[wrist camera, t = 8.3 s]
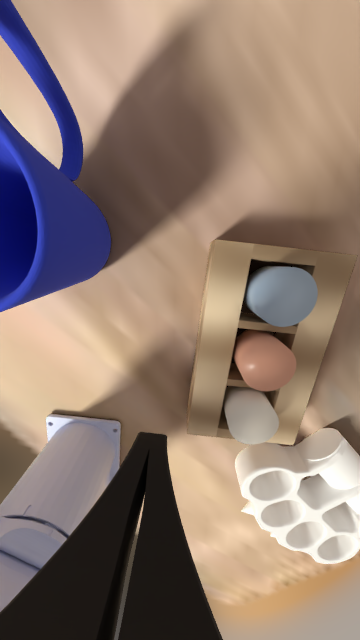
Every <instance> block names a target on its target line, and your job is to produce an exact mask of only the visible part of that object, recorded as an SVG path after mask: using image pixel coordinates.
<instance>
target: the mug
mask: <svg viewBox="0 0 360 640" xmlns="http://www.w3.org/2000/svg"><path fill="white" fill-rule="evenodd" d="M0 35H1V37H2V38H3V39H4V41H5V42H6V43H7V45H8V46H9V47H10V49H11V50H12V51H13V53H14V54H15V55H16V57H17V58H18V60H19V61H20V62H21V64H22V65H23V67H24V68H25V69H26V71H27V72H28V74H29V75H30V76H31V78H32V79H33V81H34V82H35V84H36V85H37V87H38V88H39V90H40V91H41V93H42V95H43V96H44V98H45V100H46V101H47V103H48V105H49V107H50V108H51V110H52V112H53V114H54V116H55V118H56V121H57V123H58V126H59V129H60V133H61V137H62V143H63V157H62V163H61V167H60V169H59V170H58V169H57V168H56V167H55V166H54V165H53V164H52V163H50V162H49V161H48V160H47V159H46V158H45V157H44V156H43V155H41V154H40V153H39V152H38V151H37V150H36V149H35V148H34V147H33V146H32V145H31V144H30V143H29V142H28V141H27V140H26V139H25V138H23V137H22V136H21V135H20V133H19V132H18V131H17V130H16V129H15V128H14V127H13V126H12V124H11V123H10V122H9V121H8V119H7V118H6V117H5V115H4V114H3V113H2V111H1V110H0V312H2V311H5V310H8V309H10V308H13V307H16V306H18V305H21V304H24V303H26V302H29V301H32V300H34V299H37V298H40V297H42V296H45V295H48V294H50V293H53V292H56V291H59V290H61V289H64V288H67V287H69V286H72V285H75V284H77V283H80V282H83V281H85V280H88V279H90V278H91V277H93V276H94V275H96V274H97V273H98V272H99V271H100V270H101V269H102V268H103V267H104V265H105V263H106V261H107V259H108V257H109V254H110V249H111V236H110V231H109V227H108V224H107V222H106V220H105V218H104V216H103V214H102V212H101V211H100V210H99V208H98V207H97V206H96V205H95V203H94V202H93V201H92V200H91V199H90V198H89V197H88V196H87V195H85V194H84V193H83V192H82V191H81V190H80V189H79V188H78V187H77V186H76V185H75V184H74V183H73V182H72V181H74V180H76V179H77V178H78V176H79V174H80V171H81V167H82V162H83V142H82V136H81V132H80V128H79V125H78V122H77V119H76V116H75V114H74V112H73V109H72V107H71V105H70V103H69V101H68V99H67V96H66V94H65V93H64V91H63V89H62V87H61V85H60V83H59V81H58V79H57V77H56V76H55V74H54V72H53V70H52V69H51V67H50V65H49V63H48V62H47V60H46V58H45V57H44V55H43V53H42V51H41V50H40V48H39V46H38V45H37V43H36V41H35V40H34V38H33V36H32V35H31V33H30V31H29V30H28V28H27V26H26V25H25V23H24V21H23V20H22V18H21V16H20V15H19V13H18V11H17V10H16V8H15V6H14V5H13V3H12V1H11V0H0Z"/></svg>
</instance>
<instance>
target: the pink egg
mask: <svg viewBox="0 0 360 640" xmlns="http://www.w3.org/2000/svg"><path fill="white" fill-rule="evenodd" d="M232 357H233V359H234V361H235V363H236V365H237V367H238V369H239V371H240V373H241V375H242V377H243V379H244V381H245V382H246V383H247V385H249V386H250V387H251V388H253V389H256V390H259V391H273V390H276V389H279V388H281V387H283V386H284V385H286V384H287V383H288V382H289V381H290V380H291V378H292V377H293V375H294V373H295V371H296V358H295V356H294V354H293V352H292V351H291V350H290V349H289V348H288V347H287V346H285V345H284V344H283V343H282V342H281V341H279V340H278V339H277V338H276V337H275V336H273V335H272V334H271V333H270V332H268V331H263V330H254V329H248V330H246V331H244V332H242V333H241V334H239V335H238V336H237V337H236V339H235V343H234V348H233V353H232Z"/></svg>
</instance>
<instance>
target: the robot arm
mask: <svg viewBox="0 0 360 640" xmlns="http://www.w3.org/2000/svg"><path fill="white" fill-rule="evenodd" d="M46 426H47V436H48V443H47V444H46V446H45V447H44V448H43V449H42V451H41V452H40V453H39V455H38V456H37V457H36V459H35V460H34V461H33V463H32V464H31V465H30V467H29V468H28V469H27V471H26V472H25V473H24V475H23V476H22V477H21V479H20V480H19V481H18V483H17V484H16V485H15V487H14V488H13V489H12V490H11V492H10V493H9V494H8V496H7V497H6V498H5V500H4V501H3V503H2V504H1V505H0V640H114V636H115V631H116V626H117V620H118V614H119V609H120V603H121V597H122V592H123V587H124V581H125V576H126V570H127V566H128V561H129V556H130V552H131V548H132V544H133V540H134V536H135V532H136V528H137V524H138V520H139V515H140V511H141V507H142V503H143V499H144V495H145V499H144V506H143V512H142V518H141V523H140V529H139V534H138V539H137V545H136V550H135V555H134V561H133V566H132V571H131V576H130V582H129V587H128V593H127V597H126V602H125V608H124V613H123V619H122V623H121V628H120V633H119V639H118V640H223V639H222V637H221V634H220V632H219V629H218V627H217V624H216V621H215V619H214V617H213V614H212V611H211V609H210V606H209V603H208V601H207V598H206V595H205V593H204V590H203V587H202V584H201V581H200V579H199V576H198V573H197V570H196V567H195V564H194V562H193V559H192V556H191V553H190V549H189V546H188V543H187V540H186V537H185V533H184V530H183V526H182V523H181V519H180V516H179V512H178V508H177V504H176V499H175V495H174V491H173V486H172V481H171V475H170V470H169V463H168V455H167V436H166V435H163V434H154V433H145V432H140V433H138V435H137V437H136V440H135V442H134V444H133V446H132V447H131V449H130V451H129V453H128V455H127V456H126V458H125V460H124V461H123V463H122V465H121V466H120V433H121V424H120V422H118V421H114V420H105V419H95V418H86V417H76V416H66V415H57V414H49V415H48V416H47V417H46ZM116 429H117V430H116ZM119 467H120V468H119Z"/></svg>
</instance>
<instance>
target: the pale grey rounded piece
mask: <svg viewBox="0 0 360 640" xmlns="http://www.w3.org/2000/svg"><path fill="white" fill-rule="evenodd" d="M223 408H224V412H225V416H226V419H227V423H228V427H229V431H230V433H231V435H232V436H233V437H234V438H235V439H236V440H237V441H239V442H241V443H244V444H251V445H253V444H260V443H263V442H265V441H267V440H269V439H270V438H272V437H273V436H274V435H275V433H276V432H277V430H278V427H279V419H278V416H277V414H276V412H275V411H274V409H273V407H272V406H271V404H270V402H269V401H268V399H267V397H266V396H265V394H264V392H263V391H259V390H256V389H253V388H248V387H239V386H228V387H227V388H226V390H225V394H224V399H223Z"/></svg>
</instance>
